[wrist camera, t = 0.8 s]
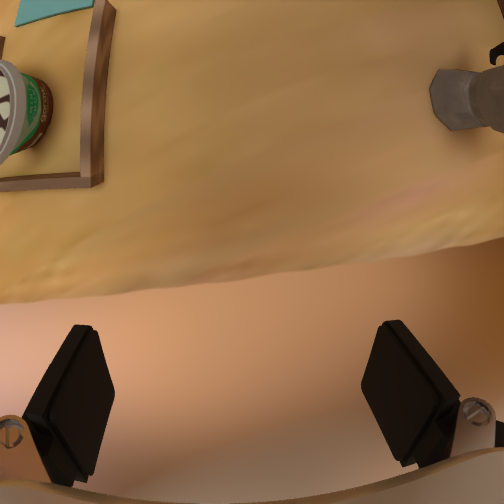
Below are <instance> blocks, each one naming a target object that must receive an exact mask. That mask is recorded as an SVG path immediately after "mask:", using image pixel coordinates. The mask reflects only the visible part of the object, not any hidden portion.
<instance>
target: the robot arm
mask: <svg viewBox="0 0 504 504" xmlns="http://www.w3.org/2000/svg"><path fill="white" fill-rule="evenodd" d="M361 389H362V392H363V394H364V396H365V398H366V400H367V402H368V404H369V406H370V408H371V410H372V412H373V414H374V416H375V418H376V421H377V423H378V425H379V427H380V429H381V431H382V433H383V435H384V437H385V439H386V442H387V443H388V445H389V448H390V450H391V452H392V454H393V456H394V458H395V459H396V460H397V461H400V463H401V465H402V467H406V466H409V465H412V464H414V463H416V462H417V464H418V466H419V468H418V470H415V471H412V472H408V473H405V474H402V475H399V476H396V477H393V478H389V479H386V480H382V481H379V482H375V483H372V484H367V485H363V486H359V487H355V488H351V489H346V490H341V491H337V492H331V493H326V494H320V495H314V496H308V497H301V498H295V499H286V500H278V501H267V502H253V503H232V504H504V423H503V422H500V421H497V420H496V416H495V411H494V409H493V408H492V407H491V405H490V404H489V403H487V402H486V401H485V400H482V399H479V398H474V397H472V398H467V399H465V400H463V401H462V402H460V401H459V397H460V394H459V393H458V391H457V390H456V389H455V387H454V386H453V385H452V383H451V382H450V381H449V380H448V378H447V377H446V376H445V374H444V373H443V372H442V370H441V369H440V368H439V367H438V365H437V364H436V363H435V362H434V360H433V359H432V358H431V356H430V355H429V354H428V353H427V352H426V350H425V349H424V348H423V347H422V346H421V344H420V343H419V342H418V340H417V339H416V338H415V337H414V335H413V334H412V333H411V332H410V331H409V329H408V328H407V327H406V326H405V325H404V324H403V322H402V321H401V320H391V321H385V322H383V324H382V326H379V328H378V330H377V333H376V337H375V340H374V344H373V347H372V350H371V354H370V357H369V360H368V363H367V366H366V370H365V373H364V376H363V379H362V382H361ZM114 397H115V390H114V386H113V383H112V380H111V377H110V374H109V370H108V367H107V364H106V360H105V357H104V354H103V350H102V346H101V342H100V339H99V335H98V332H97V331H96V330H93V328H92V326H89V325H74V326H73V328H72V329H71V331H70V332H69V334H68V335H67V337H66V339H65V340H64V342H63V344H62V345H61V347H60V349H59V351H58V352H57V354H56V356H55V357H54V359H53V361H52V363H51V364H50V365H49V367H48V369H47V370H46V372H45V374H44V376H43V378H42V380H41V381H40V383H39V385H38V387H37V389H36V390H35V392H34V394H33V396H32V398H31V400H30V402H29V404H28V406H27V408H26V410H25V412H24V414H23V416H22V418H21V417H19V416H16V415H6V416H2V417H0V504H194V503H174V502H161V501H150V500H142V499H133V498H127V497H119V496H113V495H107V494H101V493H96V492H91V491H85V490H81V489H76V488H72V486H73V483H74V480H76V481H80V482H84V483H87V480H88V476H89V475H90V476H92V475H93V473H94V470H95V466H96V462H97V458H98V454H99V450H100V446H101V443H102V439H103V435H104V432H105V428H106V425H107V421H108V418H109V414H110V411H111V407H112V404H113V401H114ZM195 504H196V503H195Z"/></svg>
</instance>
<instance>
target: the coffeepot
mask: <svg viewBox="0 0 504 504" xmlns="http://www.w3.org/2000/svg"><path fill="white" fill-rule="evenodd" d="M499 55H504V42H503V43H501V44H499V45H498V46H496V47H495V48H493V49H491V50H490V63H491V64H493V65H496V59H497V57H498V56H499ZM430 96H431V102H432V106H433V109H434V111H435V115H436V116H437V117H438V118H439V119H440V121H441V122H442V123H443V124H444V125H446V126H447V127H448V128H449V129H450V130H451V131H454V130H461V129H469V128H478V127H487V126H491V128H492V129H493V130H496V131H498V132H501V133H504V65H502V66H499V67H496V68H492V69H489V70H486V71H483V72H482V73H479V72H472V71H464V70H439V71H438V72H437V74H436V76H435V77H434V79H433V81H432V84H431V87H430Z"/></svg>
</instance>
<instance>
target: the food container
mask: <svg viewBox="0 0 504 504" xmlns="http://www.w3.org/2000/svg"><path fill="white" fill-rule="evenodd" d="M52 113H53V97H52V94H51V91H50V89H49V87H48V86H47V85H46V84H45V83H44V82H43V81H41V80H39V79H37V78H34V77H32V76H29V75H26V74H23V73H21V72H19V71H18V69H17V68H16V67H15V66H14V65H13V64H12V63H10V62H8V61H5V60H0V165H1V164H2V163H3V162H4V161H5V160H6V159H7V158H8V156H10V155H12V154H15V153H17V152H20V151H22V150H25V149H27V148H30V147H32V146H33V145H35V144H36V143H37V142H38V141H39V140H40V139H41V138H42V136H43V135H44V134H45V132H46V130H47V128H48V126H49V124H50V121H51V117H52Z"/></svg>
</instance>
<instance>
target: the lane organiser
mask: <svg viewBox="0 0 504 504" xmlns="http://www.w3.org/2000/svg"><path fill="white" fill-rule="evenodd" d="M115 15H116V9H115V8H114V7H113V6H112V5H111V4H110V3H109V2H108V1H107V0H96V1H95V5H94V10H93V15H92V21H91V27H90V33H89V39H88V46H87V53H86V61H85V70H84V80H83V92H82V107H81V133H80V171H81V172H72V173H55V174H40V175H27V176H16V177H5V178H0V192H9V191H24V190H43V189H67V188H92V187H94V186H95V185H97V184H99V183H102V182H104V174H103V145H104V114H105V97H106V84H107V73H108V64H109V55H110V47H111V40H112V33H113V26H114V20H115ZM4 40H5V37H2V36H0V60H1V58H2V52H3V46H4Z"/></svg>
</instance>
